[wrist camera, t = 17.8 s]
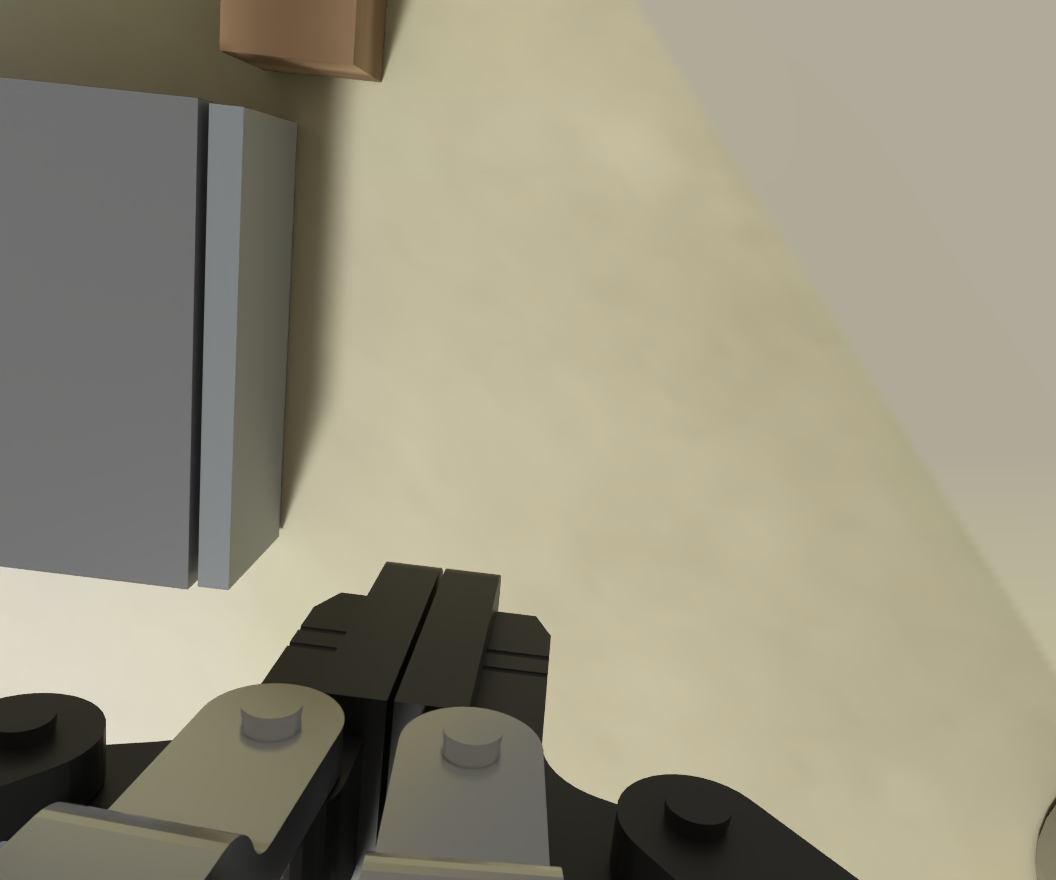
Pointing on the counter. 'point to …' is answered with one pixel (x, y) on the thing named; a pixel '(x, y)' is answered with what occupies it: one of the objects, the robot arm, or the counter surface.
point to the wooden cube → (307, 36)
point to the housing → (101, 330)
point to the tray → (244, 337)
